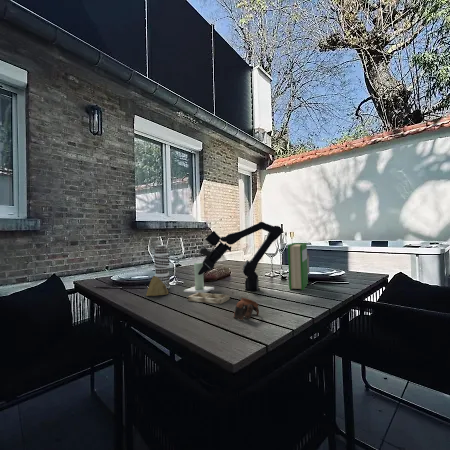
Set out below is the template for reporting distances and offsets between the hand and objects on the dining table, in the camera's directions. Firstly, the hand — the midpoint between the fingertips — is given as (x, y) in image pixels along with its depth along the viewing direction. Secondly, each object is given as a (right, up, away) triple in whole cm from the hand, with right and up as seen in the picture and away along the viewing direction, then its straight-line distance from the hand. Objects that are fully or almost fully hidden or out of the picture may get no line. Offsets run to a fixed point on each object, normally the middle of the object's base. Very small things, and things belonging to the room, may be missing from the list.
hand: (199, 273), depth 158 cm
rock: (-21, -11, -5) cm, 25 cm away
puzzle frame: (+7, -10, -21) cm, 24 cm away
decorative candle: (-23, -11, +12) cm, 28 cm away
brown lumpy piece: (+23, -10, -47) cm, 53 cm away
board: (0, -10, 0) cm, 10 cm away
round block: (0, -9, 0) cm, 9 cm away
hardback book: (+56, -9, +4) cm, 56 cm away
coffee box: (+65, -8, +27) cm, 71 cm away
